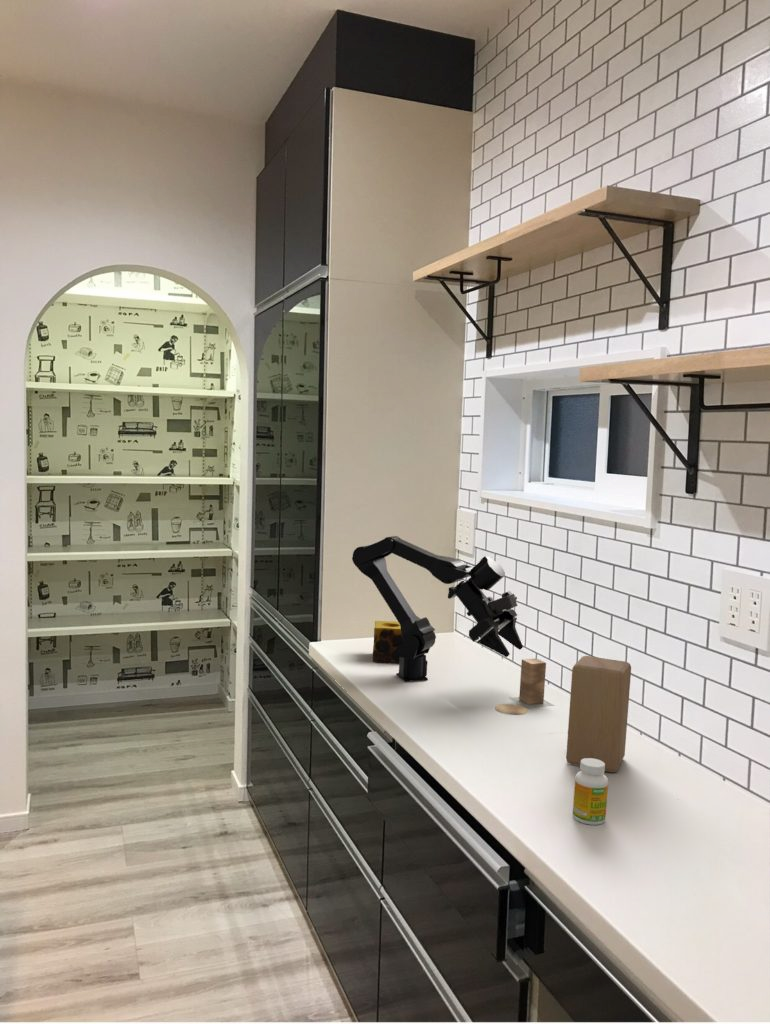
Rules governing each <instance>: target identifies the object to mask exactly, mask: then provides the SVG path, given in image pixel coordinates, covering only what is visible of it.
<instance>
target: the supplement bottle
mask: <svg viewBox="0 0 770 1024" xmlns="http://www.w3.org/2000/svg"><path fill="white" fill-rule="evenodd" d="M605 772H606V771H605V763H604V762H602V761H601V760H598V759H593V758H584V759H582V760H581V762H580V766H579V771H578V772H577V773H576V774H575V777H574V788H573V790H574V791H573V804H572V817H573V818H574V819H575V821H577V822H579V823H582V824H584V825H590V826H591V825H592V826H599V825H602V824H603V823H604V822H605V821H606V815H607V803H608V789H609V779H608V777H607V776H606V775H605Z"/></svg>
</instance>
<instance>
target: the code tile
mask: <svg viewBox="0 0 770 1024" xmlns="http://www.w3.org/2000/svg"><path fill="white" fill-rule="evenodd" d="M508 699H510V700H511V701H513V702H514V703H516V704H517V705H519V706H523V707H525V708H526V709H531V708H534V709H535V708H542V707H555V705H554V704H552V703H551V702H549V701H547V700H546V699H544V702H543V704H533V705H528V704H526V703H524V702H523V701H521V700H519V696H516V697H508Z"/></svg>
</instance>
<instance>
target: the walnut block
mask: <svg viewBox="0 0 770 1024" xmlns="http://www.w3.org/2000/svg"><path fill="white" fill-rule="evenodd" d="M546 668H547V662H545V661H544V660H541V659H539V658H536V657H535V658H522V659H521V666H520V679H519V680H520V682H519V696H518V697H519V700H521V701H523V702H524V703H526V704H528V705H533V704H543V702H544V700H545V686H546V670H547V669H546Z"/></svg>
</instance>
